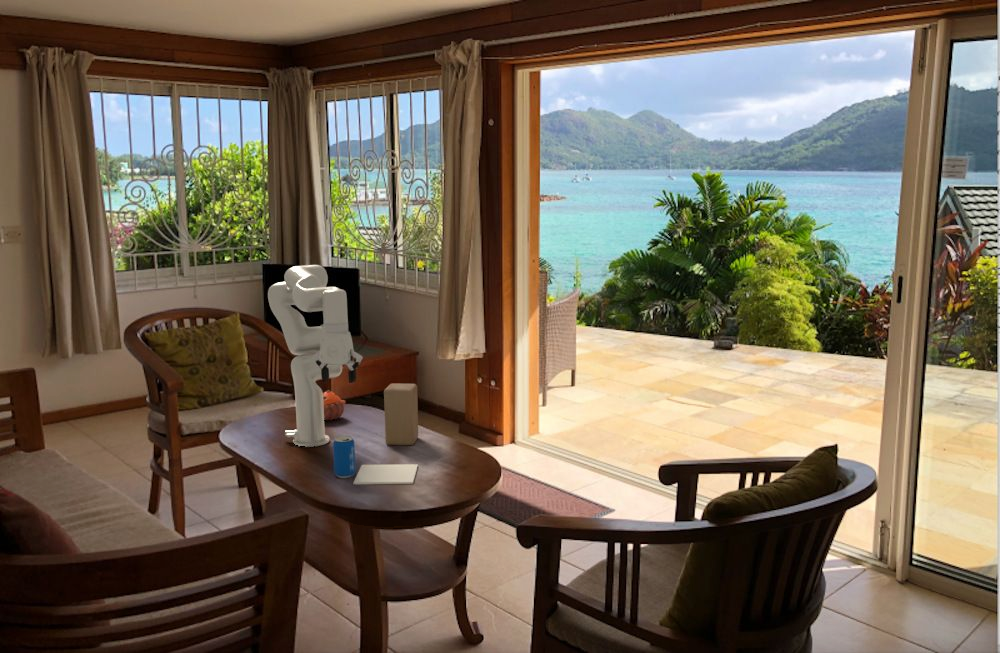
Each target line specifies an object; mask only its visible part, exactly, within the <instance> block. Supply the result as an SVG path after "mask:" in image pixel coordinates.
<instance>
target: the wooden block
mask: <svg viewBox="0 0 1000 653" xmlns="http://www.w3.org/2000/svg"><path fill="white" fill-rule="evenodd" d="M383 397H384V399H383V401H384V406H383V407H384V431H385V432H384V434H385V444H386V445H388V446H413V445H415V442H416V441H417V439H418V437H419V412H418V411H419V410H418V408H419V406H418V385H417V384H416V383H398V382H397V383H390V384H388V386H387V387H386V388H384V391H383Z"/></svg>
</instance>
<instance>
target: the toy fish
mask: <svg viewBox="0 0 1000 653" xmlns="http://www.w3.org/2000/svg"><path fill="white" fill-rule="evenodd" d="M323 402H324V420H326V421H334V420H333V419H335V420H337V419H338V418H341V417H342V415H343V414H344V412H345V406H346V405H345V404H346V400H344V399H343V400H342V399H341V398H340V396H338V395H337V393H335V392H333V391H332V390H329V389H328V390H326V391H324V392H323Z"/></svg>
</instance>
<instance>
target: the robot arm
mask: <svg viewBox="0 0 1000 653" xmlns="http://www.w3.org/2000/svg"><path fill="white" fill-rule="evenodd" d="M283 277H284V281H280V282H276V283H274V284H272V285H271V286H269V288H268V290H267V299H268V303H269V307H270V310H271V312H272V313H273V315H274V317H275V318H276V320H277V321H278V323H279V324H280V327H281V330H282V332H283V333H282V334H283V337H284V340H285V343H286V345H287V348H288V351H290V353H291V354H292V355H294V356H295V357H294V358H293V359H292V360H291V361H290V362H291V363H290V371H291V376H292V381H293V386H294V396H295V397H294V398H295V401H294V402H295V414H296V415H295V416H296V418H295V419H296V420H295V421H296V429H294V430H285V432H284V436H286V437H287V438H293V440H292V443H294V444H295V445H294V444H293V445H294V446H296V445H298V446H297V447H300V446H305V447H304V448H314V446H315V447H320V446H323V445H326V444H328V443H329V442H330V436H329V435H327V434H326V428H325V427H326V426H325V421H324V402H323V393H324V392H323V390H322V388H321V387H320V386H319V385H318V384H317V381H320V380H322V382H327V381H330V379H334V378H337V377H339V376H340V375H341V374H342V372H343V366H347V368H348V369H349V370H348V383H350V384H352V383H355V382H356V379H357V369H358V367H359V366H360V365H361V362H362V360H363V358H364V357H363V356H362V355H361V354H360V353H358V352H356V351H355V349H354V343H353V338H352V335H351V332H350V331H349V321H348V320H349V319H348V317H349V316H348V298H347V292H346V290H344V289H341V288H339V287H336V286H327V284H328V281H329V280H328V279H329V277H328V274H327V270H326V269H325V267H324V266H322V265H320V264H309V265H307V264H306V265H295V266H292V267H290V268H288V269H287V270H286V271H285V273H284V275H283ZM292 305H293V306H295V307H297V308H298V309H299V310H300V311H302V312H306V313H312V312H313V313H314V312H322V315H323V316H322V317H323V324H320V326H308V325H307V323H306V321H305V320H306V319H305V317H304V316H303V314H301V312H300V311H298V309H295V308H294V307H292ZM354 360H356V361H354Z"/></svg>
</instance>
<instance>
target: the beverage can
mask: <svg viewBox="0 0 1000 653" xmlns="http://www.w3.org/2000/svg"><path fill="white" fill-rule="evenodd" d="M353 438H354V437H353V436H351V435H340V436H336V437H334V439H333V442H332V447H333V471H334V476H336V477H338V478H340V479H347V478H348V477H349V478H352V477H353V476H354V475H355V474H356V454H355V453H356V450H355V449H356V448H355V440H354V439H353ZM351 476H352V477H351ZM349 478H348V479H349Z"/></svg>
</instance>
